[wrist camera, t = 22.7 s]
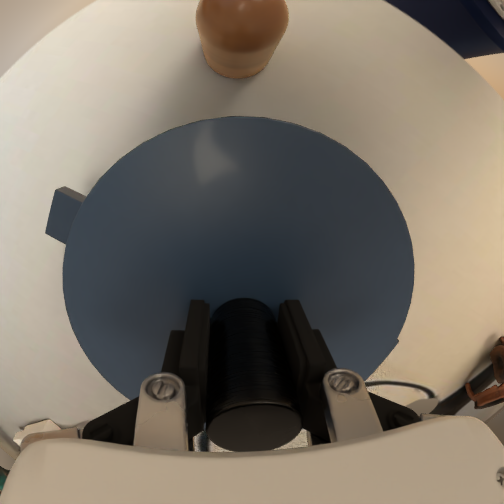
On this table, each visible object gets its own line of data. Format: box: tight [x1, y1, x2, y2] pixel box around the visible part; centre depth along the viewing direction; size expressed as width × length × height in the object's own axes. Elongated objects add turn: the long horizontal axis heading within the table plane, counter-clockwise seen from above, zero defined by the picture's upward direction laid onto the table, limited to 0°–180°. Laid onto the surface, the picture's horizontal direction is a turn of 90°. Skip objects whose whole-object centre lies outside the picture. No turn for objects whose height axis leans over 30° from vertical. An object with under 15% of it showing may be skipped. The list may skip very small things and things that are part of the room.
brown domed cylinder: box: [196, 0, 289, 79], centre depth 11 cm, size 4×4×7 cm
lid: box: [63, 116, 414, 452], centre depth 10 cm, size 17×17×7 cm
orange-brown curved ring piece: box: [465, 337, 504, 409], centre depth 25 cm, size 12×10×8 cm
